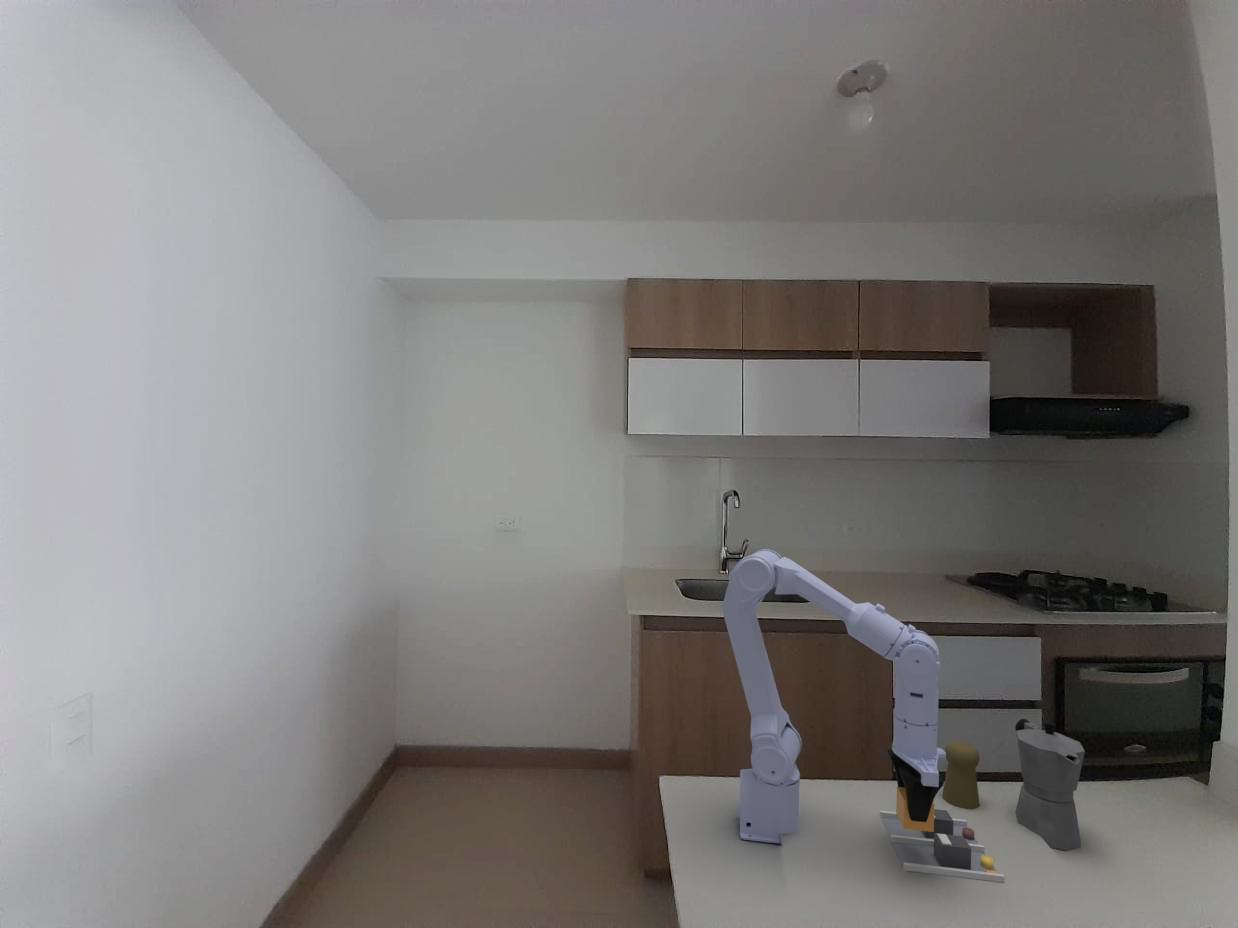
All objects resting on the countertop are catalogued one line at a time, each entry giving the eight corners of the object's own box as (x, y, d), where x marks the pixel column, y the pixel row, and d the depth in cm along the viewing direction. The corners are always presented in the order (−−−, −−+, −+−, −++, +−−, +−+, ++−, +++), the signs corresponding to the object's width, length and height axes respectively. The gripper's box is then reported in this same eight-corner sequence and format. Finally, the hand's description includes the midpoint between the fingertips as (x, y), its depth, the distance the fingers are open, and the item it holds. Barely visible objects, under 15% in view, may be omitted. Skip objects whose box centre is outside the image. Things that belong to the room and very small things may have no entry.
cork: (986, 820, 105) (988, 754, 105) (946, 815, 106) (948, 750, 106) (973, 801, 111) (975, 739, 111) (936, 797, 112) (937, 735, 112)
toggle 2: (940, 865, 90) (941, 843, 90) (933, 853, 93) (934, 831, 93) (970, 869, 89) (971, 847, 89) (962, 856, 92) (963, 835, 92)
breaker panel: (903, 880, 89) (904, 862, 89) (879, 824, 103) (880, 809, 103) (1004, 893, 87) (1004, 874, 87) (965, 834, 101) (966, 818, 101)
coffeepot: (1106, 861, 95) (1109, 741, 95) (1040, 857, 95) (1044, 738, 95) (1043, 805, 110) (1046, 702, 110) (987, 802, 111) (990, 699, 111)
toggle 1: (925, 837, 97) (925, 816, 97) (918, 826, 100) (919, 806, 100) (952, 840, 96) (953, 819, 96) (946, 829, 99) (946, 809, 99)
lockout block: (903, 828, 90) (904, 800, 90) (896, 813, 94) (897, 786, 94) (933, 831, 90) (934, 803, 90) (924, 816, 94) (925, 789, 94)
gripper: (964, 742, 84) (961, 844, 84) (929, 701, 99) (926, 788, 99) (907, 737, 85) (905, 837, 85) (881, 698, 100) (879, 783, 100)
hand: (913, 811), depth 92 cm, fingers closed on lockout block, 4 cm apart
